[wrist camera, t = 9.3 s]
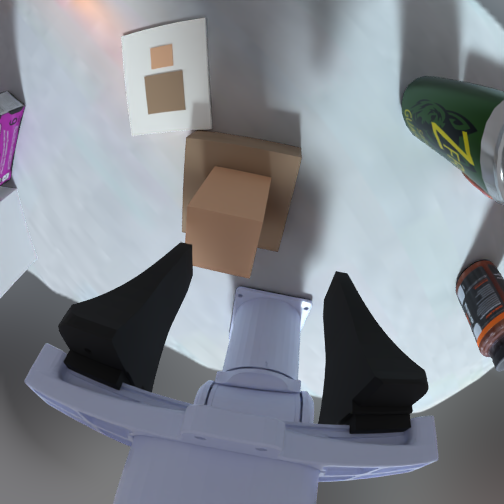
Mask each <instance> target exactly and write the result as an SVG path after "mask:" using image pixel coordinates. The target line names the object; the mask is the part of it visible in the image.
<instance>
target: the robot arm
mask: <svg viewBox="0 0 504 504" xmlns="http://www.w3.org/2000/svg"><path fill="white" fill-rule="evenodd" d="M192 276H193V261H192V244H187V243H179V244H178V245H177V246H176V247H174V248H173V249H172V250H171V251H170V252H168V253H167V254H166V255H165V256H164V257H162V258H161V259H160V260H159V261H157V262H156V263H155V264H154V265H152V266H151V267H150V268H148V269H147V270H145V271H144V272H143V273H141V274H140V275H138V276H137V277H135V278H134V279H132V280H130V281H129V282H127V283H125V284H123V285H122V286H120V287H118V288H116V289H114V290H112V291H110V292H107V293H105V294H103V295H100V296H98V297H95V298H93V299H90V300H87V301H83V302H80V303H77V304H73V305H72V306H71V307H70V309H69V310H68V311H67V313H66V314H65V316H64V317H63V319H62V321H61V322H60V324H59V326H58V327H59V332H60V334H61V336H62V337H63V339H64V341H65V342H66V344H67V346H68V347H69V349H70V351H69V353H68V354H66V353H65V352H64V351H62V350H60V349H58V348H56V347H54V346H52V345H50V344H48V343H46V344H45V345H44V347H43V349H42V350H41V352H40V354H39V355H38V357H37V359H36V361H35V362H34V364H33V366H32V368H31V369H30V371H29V373H28V375H27V377H26V379H25V383H26V384H27V385H28V386H29V387H30V388H31V389H32V390H33V391H34V392H35V393H36V394H37V395H38V396H39V397H40V398H42V399H43V400H44V401H45V402H46V403H47V404H49V405H50V406H52V407H54V408H55V409H57V410H59V411H61V412H62V413H64V414H66V415H68V416H69V417H71V418H73V419H75V420H76V421H78V422H80V423H82V424H84V425H86V426H88V427H90V428H91V429H93V430H96V431H97V432H99V433H101V434H103V435H105V436H108V437H110V438H112V439H114V440H116V441H118V442H121V443H123V444H125V445H128V446H130V447H131V448H130V451H129V454H128V457H127V460H126V463H125V466H124V469H123V472H122V475H121V478H120V482H119V485H118V488H117V492H116V495H115V498H114V502H113V504H316V499H317V489H318V482H330V481H344V480H356V479H366V478H374V477H380V476H388V475H395V474H401V473H407V472H410V471H413V470H416V469H418V468H421V467H423V466H426V465H428V464H431V463H433V462H435V461H437V460H438V459H439V458H438V447H437V437H436V429H435V422H434V416H423V417H415V418H412V419H410V413H412V411H413V410H412V405H413V404H414V403H415V402H417V401H418V400H419V399H420V398H422V397H423V396H424V395H425V394H426V392H427V391H428V382H427V377H426V373H425V370H424V369H422V368H421V367H420V366H418V365H417V364H416V363H415V362H413V361H412V360H411V359H410V358H409V357H408V356H407V355H406V354H404V353H403V352H402V351H401V350H400V349H399V348H398V347H397V346H396V345H395V343H394V342H393V341H392V340H391V339H390V338H389V337H388V336H387V334H386V333H385V332H384V331H383V329H382V328H381V327H380V326H379V324H378V323H377V322H376V320H375V319H374V317H373V316H372V314H371V313H370V311H369V310H368V308H367V307H366V305H365V303H364V302H363V300H362V298H361V297H360V295H359V293H358V291H357V290H356V288H355V286H354V284H353V283H352V281H351V279H350V277H349V276H348V274H347V273H342V272H337V271H336V272H335V275H334V277H333V280H332V282H331V284H330V287H329V289H328V292H327V294H326V296H325V299H324V310H323V322H324V337H325V352H326V365H325V379H324V389H323V397H322V405H321V411H320V417H319V422H318V424H313V421H314V402H313V399H312V397H311V396H310V395H309V393H308V392H307V391H301V392H300V388H301V381H300V380H298V369H299V350H300V332H301V330H302V327H303V325H304V323H305V321H306V319H307V316H308V314H309V312H310V310H311V307H312V301H311V300H307V299H301V298H296V297H291V296H286V295H281V294H275V293H270V292H265V291H260V290H256V289H251V288H246V287H238V288H237V289H236V295H235V301H234V308H233V314H232V321H231V328H230V334H229V339H230V341H229V345H228V350H227V354H226V358H225V362H224V366H223V370H222V371H218V372H217V375H216V379H215V381H212V380H208V381H207V382H206V383H205V384H203V385H202V386H201V387H200V388H199V390H198V392H197V394H196V397H195V400H194V404H190V403H186V402H183V401H179V400H175V399H172V398H168V397H165V396H161V395H158V394H155V393H152V388H153V384H154V379H155V376H156V372H157V368H158V364H159V361H160V357H161V354H162V351H163V347H164V344H165V341H166V338H167V335H168V332H169V330H170V327H171V325H172V323H173V321H174V319H175V316H176V314H177V312H178V310H179V308H180V306H181V304H182V302H183V300H184V298H185V295H186V293H187V291H188V288H189V285H190V282H191V279H192ZM240 294H242V295H240ZM305 307H307V308H305Z"/></svg>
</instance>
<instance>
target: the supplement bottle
mask: <svg viewBox="0 0 504 504" xmlns="http://www.w3.org/2000/svg"><path fill="white" fill-rule="evenodd" d="M456 294H457V297H458V299H459V302H460V304H461V306H462V308H463V310H464V312H465V315H466V317H467V319H468V322H469V324H470V327H471V329H472V332H473V334H474V337H475V340H476V342H477V345H478V347H479V350H480V352H481V354H482V355H484V356H486V357H491V358H492V359H493V363H494V366H495V368H496V370H497V371H504V279H503V277H502V276H501V274H500V272H499V271H498V269H497V268H496V267H495V265H494V264H493V263H492V262H490V261H487V260H483V261H478V262H476V263H474V264H472V265H471V266H469V267H468V268H467V269H466V270H465V271H464V272H463V273H462V275H461V276H460V278H459V279H458V282H457V285H456Z"/></svg>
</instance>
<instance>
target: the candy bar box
mask: <svg viewBox="0 0 504 504" xmlns="http://www.w3.org/2000/svg"><path fill="white" fill-rule="evenodd" d="M24 108H25V105H24V104H23V103H22V102H21V101H19V100H17V99H16V98H15V97H14V96H13V95H12V94H11V93H9V92H8V91H5V92H2V93H0V186H1V185H3V184H4V183H6V182H7V181H9V180H10V179H11V172H12V164H13V158H14V152H15V147H16V142H17V137H18V132H19V128H20V124H21V120H22V116H23V112H24Z"/></svg>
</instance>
